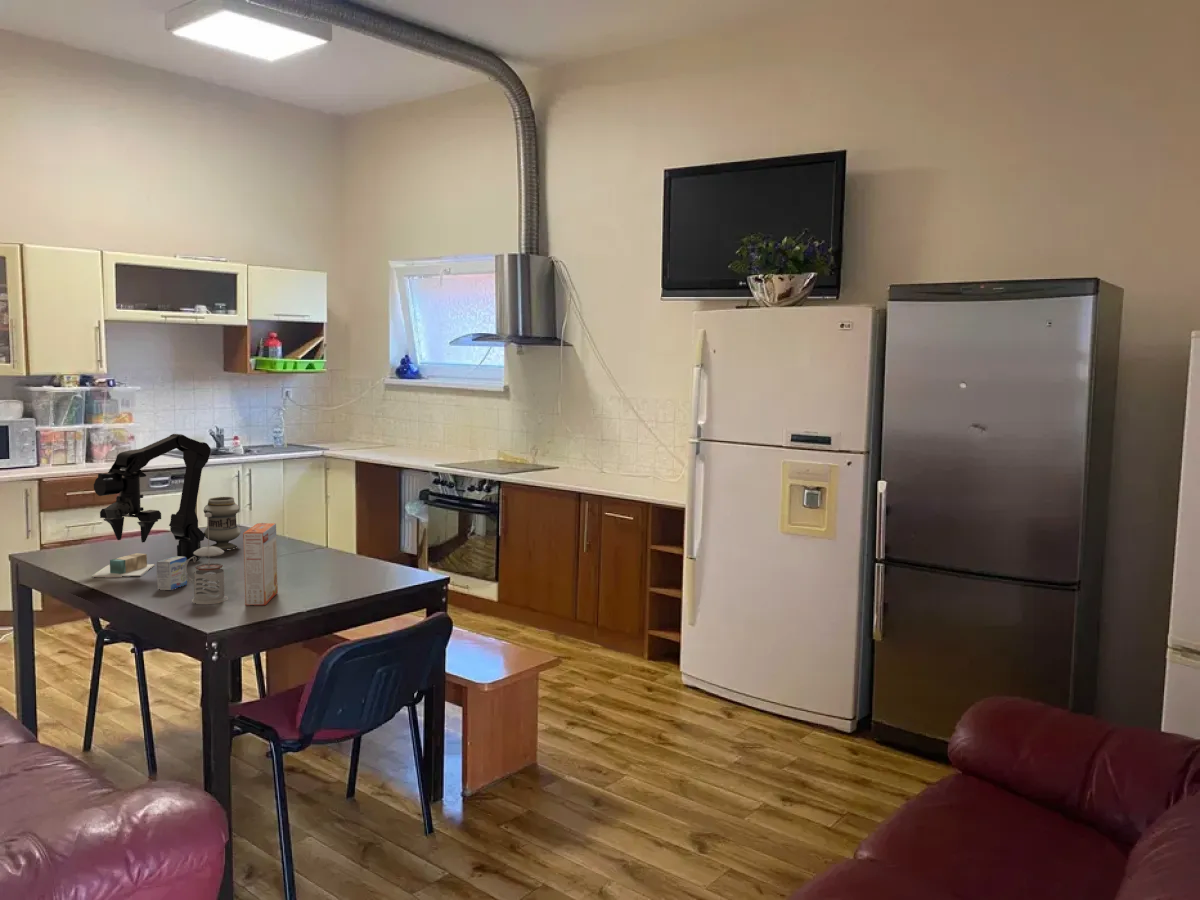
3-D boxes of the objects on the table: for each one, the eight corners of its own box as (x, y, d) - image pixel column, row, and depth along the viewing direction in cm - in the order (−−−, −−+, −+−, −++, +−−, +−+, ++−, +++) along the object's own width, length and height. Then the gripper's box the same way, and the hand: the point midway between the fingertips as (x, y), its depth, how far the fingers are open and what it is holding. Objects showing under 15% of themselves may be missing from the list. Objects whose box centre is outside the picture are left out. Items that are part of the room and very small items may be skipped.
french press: (222, 604, 261) (220, 515, 259) (178, 604, 260) (176, 515, 258) (232, 595, 271) (231, 509, 269) (191, 595, 270) (189, 509, 268)
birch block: (136, 553, 302) (109, 560, 291) (146, 554, 301) (120, 561, 290) (136, 565, 302) (110, 572, 292) (146, 566, 301) (120, 573, 291)
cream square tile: (154, 566, 305) (154, 564, 304) (140, 576, 290) (140, 575, 290) (108, 566, 302) (108, 564, 302) (91, 577, 287) (91, 575, 287)
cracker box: (257, 593, 274) (256, 522, 272) (278, 593, 274) (277, 522, 272) (243, 606, 260) (242, 531, 258) (265, 606, 261) (264, 531, 258)
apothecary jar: (196, 550, 329) (195, 499, 327) (217, 544, 341) (217, 494, 339) (227, 552, 326) (226, 501, 325) (247, 546, 338) (246, 496, 336)
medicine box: (170, 591, 274) (169, 562, 273) (157, 590, 275) (156, 561, 274) (187, 585, 282) (187, 556, 281) (174, 583, 283) (173, 555, 282)
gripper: (85, 493, 290) (86, 543, 291) (135, 497, 285) (137, 548, 287) (112, 489, 301) (114, 537, 302) (162, 492, 296) (163, 541, 297)
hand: (131, 541), depth 297 cm, fingers open, 9 cm apart
